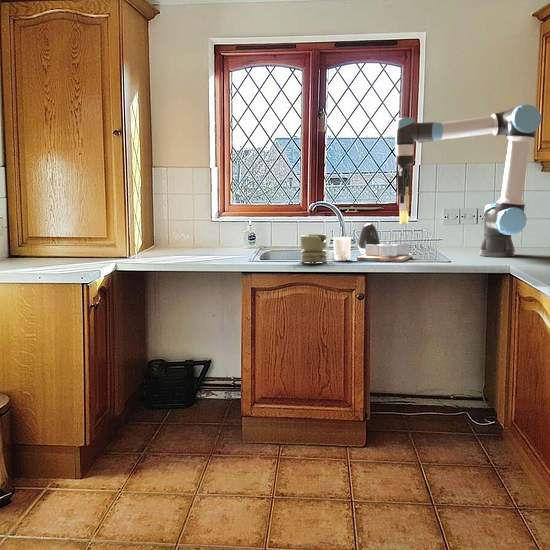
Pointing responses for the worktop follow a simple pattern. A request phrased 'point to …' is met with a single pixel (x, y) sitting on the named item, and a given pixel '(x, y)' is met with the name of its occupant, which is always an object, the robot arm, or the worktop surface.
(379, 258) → the mount board
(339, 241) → the white cup
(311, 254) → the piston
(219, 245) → the worktop surface
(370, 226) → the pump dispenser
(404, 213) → the pin
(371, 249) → the white piece
